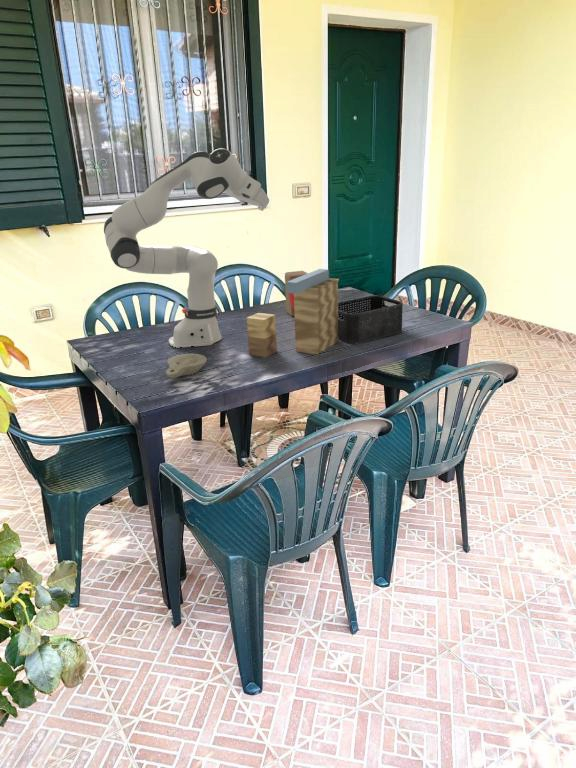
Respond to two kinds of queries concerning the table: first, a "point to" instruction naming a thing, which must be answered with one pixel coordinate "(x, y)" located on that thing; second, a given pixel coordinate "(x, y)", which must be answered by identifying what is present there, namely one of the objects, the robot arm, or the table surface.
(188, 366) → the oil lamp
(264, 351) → the walnut block
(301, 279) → the blue bar
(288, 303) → the block
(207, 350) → the table surface
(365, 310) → the storage bin
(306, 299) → the oak stand
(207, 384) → the table surface
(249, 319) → the block
